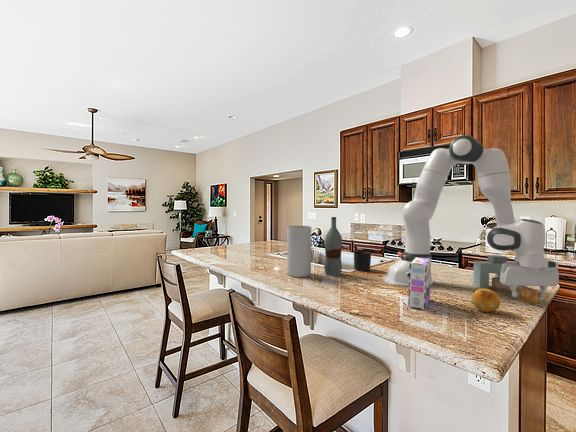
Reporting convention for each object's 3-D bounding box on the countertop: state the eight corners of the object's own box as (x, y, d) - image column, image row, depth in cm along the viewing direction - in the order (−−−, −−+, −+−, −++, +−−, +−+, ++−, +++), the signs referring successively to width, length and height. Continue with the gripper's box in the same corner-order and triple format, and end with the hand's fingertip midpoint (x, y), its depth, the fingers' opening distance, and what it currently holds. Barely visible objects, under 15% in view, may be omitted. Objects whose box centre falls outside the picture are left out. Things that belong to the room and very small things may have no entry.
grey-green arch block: (479, 287, 134) (481, 256, 133) (472, 284, 139) (474, 254, 138) (511, 288, 134) (512, 257, 133) (503, 285, 139) (504, 255, 138)
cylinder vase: (288, 271, 162) (288, 225, 161) (311, 272, 161) (312, 225, 159) (285, 277, 150) (285, 227, 149) (310, 278, 148) (310, 227, 147)
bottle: (322, 272, 161) (323, 216, 160) (338, 271, 162) (339, 216, 161) (326, 276, 152) (327, 217, 151) (343, 276, 153) (345, 217, 152)
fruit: (489, 317, 100) (490, 293, 99) (466, 308, 107) (467, 286, 107) (504, 313, 103) (505, 290, 103) (481, 305, 110) (482, 284, 110)
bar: (526, 303, 114) (527, 290, 113) (491, 288, 134) (491, 277, 133) (537, 303, 114) (537, 290, 113) (500, 288, 134) (500, 277, 133)
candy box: (425, 310, 105) (426, 264, 104) (407, 307, 108) (408, 262, 107) (430, 300, 116) (431, 258, 116) (414, 297, 120) (415, 256, 119)
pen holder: (369, 268, 172) (369, 250, 172) (372, 271, 163) (372, 253, 162) (352, 267, 173) (352, 250, 173) (354, 271, 164) (354, 253, 163)
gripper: (508, 262, 112) (506, 299, 113) (563, 263, 112) (561, 299, 113) (496, 259, 118) (495, 294, 119) (548, 260, 118) (546, 294, 119)
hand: (527, 296), depth 116 cm, fingers open, 8 cm apart
